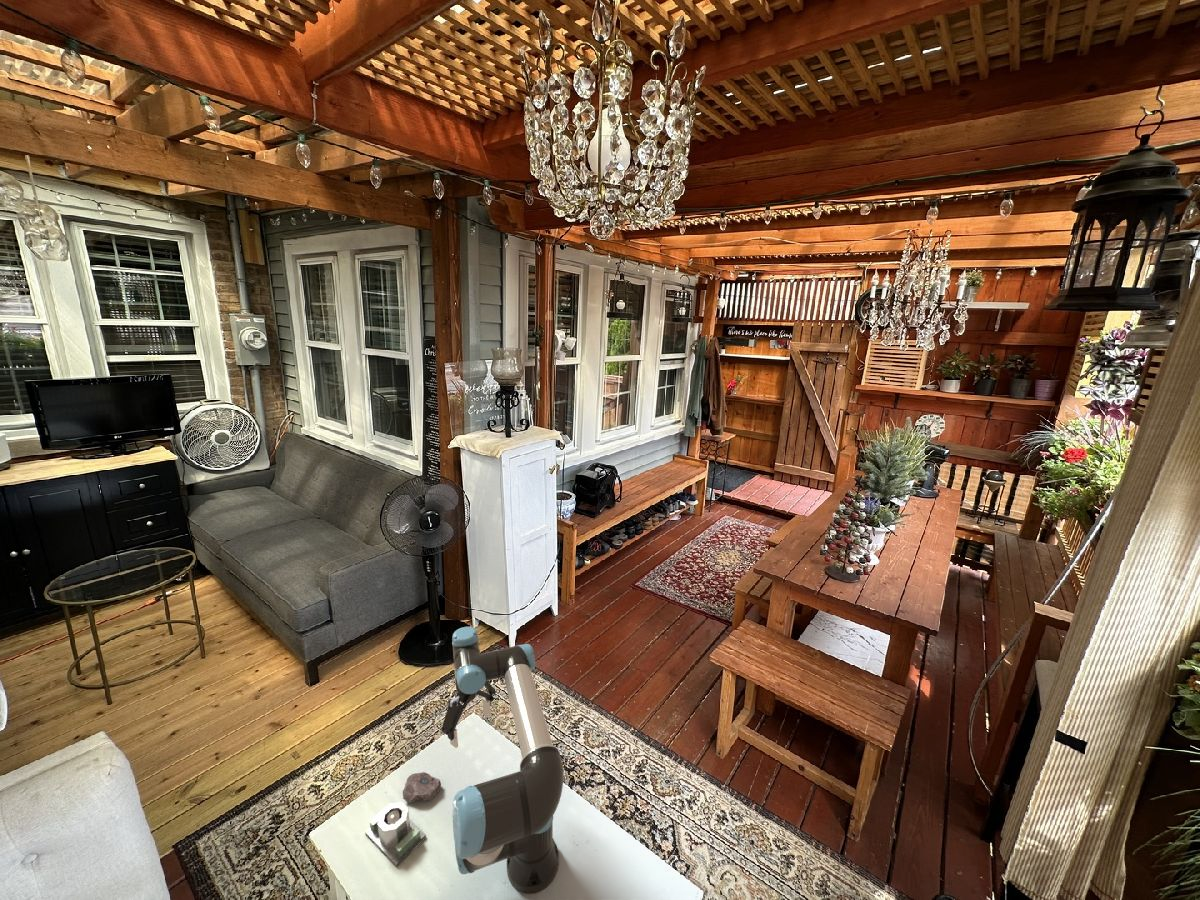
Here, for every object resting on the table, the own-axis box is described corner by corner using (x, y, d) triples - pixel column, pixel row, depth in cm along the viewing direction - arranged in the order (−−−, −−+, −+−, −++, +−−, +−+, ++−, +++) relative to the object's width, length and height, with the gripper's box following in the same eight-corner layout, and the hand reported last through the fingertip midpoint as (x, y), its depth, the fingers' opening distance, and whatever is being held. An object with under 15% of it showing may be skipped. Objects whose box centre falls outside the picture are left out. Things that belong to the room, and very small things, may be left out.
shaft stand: (426, 836, 144) (423, 817, 142) (396, 867, 136) (394, 847, 134) (394, 807, 153) (392, 788, 150) (365, 834, 145) (362, 814, 142)
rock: (436, 804, 154) (435, 793, 153) (401, 805, 153) (399, 794, 152) (443, 781, 162) (442, 770, 161) (409, 782, 161) (408, 771, 160)
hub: (414, 829, 145) (412, 812, 143) (391, 853, 139) (388, 835, 137) (399, 814, 149) (397, 798, 147) (375, 836, 143) (373, 819, 141)
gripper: (489, 647, 157) (491, 699, 162) (425, 695, 137) (430, 752, 142) (505, 656, 153) (507, 709, 158) (442, 706, 133) (447, 765, 138)
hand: (471, 730), depth 150 cm, fingers open, 13 cm apart
